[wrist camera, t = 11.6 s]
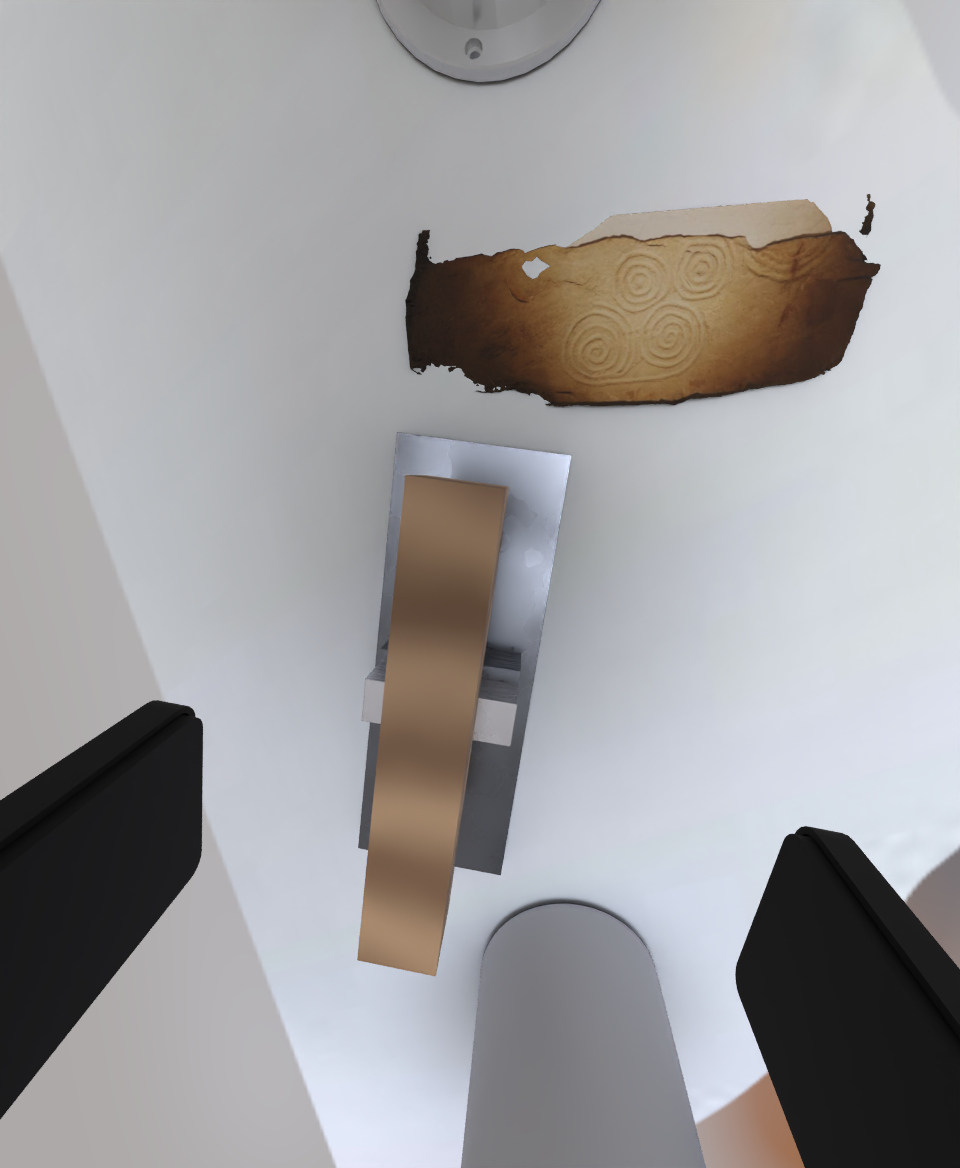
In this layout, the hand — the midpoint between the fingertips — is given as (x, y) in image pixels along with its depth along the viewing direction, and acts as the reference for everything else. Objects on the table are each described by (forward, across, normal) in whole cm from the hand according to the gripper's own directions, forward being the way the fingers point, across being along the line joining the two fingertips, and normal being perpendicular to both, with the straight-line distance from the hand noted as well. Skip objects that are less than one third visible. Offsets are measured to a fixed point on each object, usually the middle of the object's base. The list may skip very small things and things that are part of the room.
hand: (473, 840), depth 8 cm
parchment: (+25, -4, -14) cm, 29 cm away
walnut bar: (+17, +3, +8) cm, 19 cm away
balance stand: (+24, +2, +8) cm, 25 cm away
